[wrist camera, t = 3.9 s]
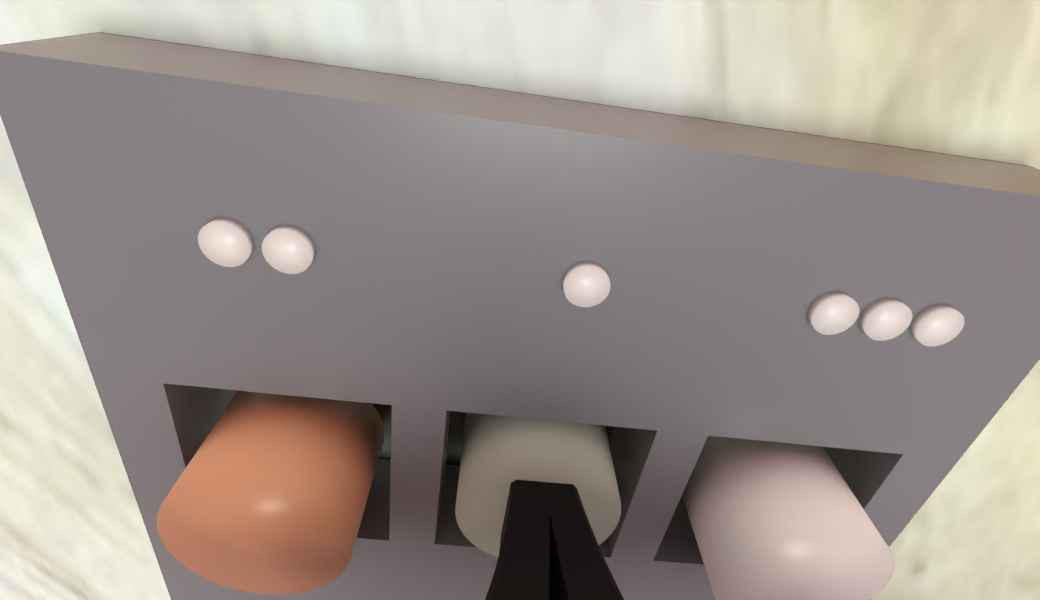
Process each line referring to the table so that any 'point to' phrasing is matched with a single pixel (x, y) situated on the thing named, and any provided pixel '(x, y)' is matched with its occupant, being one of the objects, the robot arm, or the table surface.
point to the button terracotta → (275, 493)
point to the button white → (781, 524)
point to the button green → (531, 471)
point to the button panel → (512, 286)
